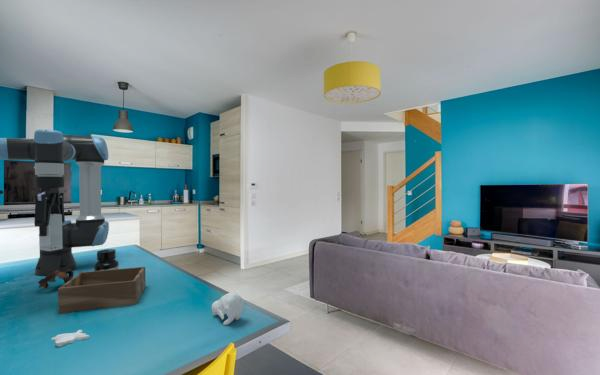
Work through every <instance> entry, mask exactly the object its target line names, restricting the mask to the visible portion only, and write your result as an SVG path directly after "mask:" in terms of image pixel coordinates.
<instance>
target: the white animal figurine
mask: <svg viewBox="0 0 600 375" xmlns="http://www.w3.org/2000/svg"><path fill="white" fill-rule="evenodd" d="M244 305H245V301H244V300H243V298H242V296H241V295H239V294H238V293H236V292H229V293H227V294H226V293H225V294H223V295H222V296H221V297H220V298H219V299H218V300H215V301H214V302H213V303H212V305H211V311H212V312H211V313H212V314H213V315H214V317H215V316H219V317H220V319H221V320H224V319H225V315H226V316H227V317H228V318H227V319H225V320H224V321H223V323H222V324H223V326H227V325H229V324H231V323H232V322H233V321H234V320H235V321H238V320H240V319H241V316H242V313H243V311H244Z"/></svg>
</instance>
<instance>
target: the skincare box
mask: <svg viewBox="0 0 600 375" xmlns="http://www.w3.org/2000/svg"><path fill="white" fill-rule="evenodd" d="M48 226H50V239H51V245H50V246H39V251H40V250H44V251H53V250H59V249H63V243H62V214H51V213H50V219H49V225H48Z"/></svg>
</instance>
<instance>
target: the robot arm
mask: <svg viewBox="0 0 600 375" xmlns="http://www.w3.org/2000/svg"><path fill="white" fill-rule="evenodd" d="M0 160H7V161H10V160H11V161H12V160H13V161H15V160H17V161H34V166H33V169H34V175H35V177H34V186H35V188H36V189H38V188H39V189H40V192H39V193H35V194H34V201H35V205H34V227H35V228H36V227H38V239H39V240H38V241H39V242H38V243H39V245H38V247H40V246H50V245H51V239H50V226H48V225H49V219H50V214H62V243H63V249H59V250H53V251H44V250H40V249H39V258H38V259H37V263H36V265H35V268H34V275H35V276H48V275H49V274H51V273H53V272H54V271H56V270H59V271H60V272H64V271H66V270H72V271H74V270H76V269H77V262H76V259H75V257H74V254H73V250H72V248H82V247H95V246H103V245H104V244H105V243H106V242H107V240H108V235H109V231H110V230H109V229H110V224H109V222H108V221H107V220H106V219H105V216H103V215H102V194H101V193H102V176H101V175H102V173H101V171H102V167H103V166H104V165H105V161H108V160H109V148H108V146H107V142H106V140H105V139H104V138H103V137H101V136H95V135H77V134H76V135H73V134H63V133H62V131H60V130H53V129H37V130H35V131H34V135H33V138H29V137H28V138H19V137H17V138H13V137H0ZM71 160H75V164H76V165H77V166H78V167H79V168H78V169H79V181H78V182H79V216H78V217H77V218H75V222H73V221H72V220H70V219H68V220H67V219H65V218H66V217H65V216H66V215H65V205H64V204H65V203H64V196H65V195H64V192H60V189H59V188H64V187H65V178H64V175H65V163H64V162H68V161H69V162H70V161H71Z"/></svg>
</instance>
